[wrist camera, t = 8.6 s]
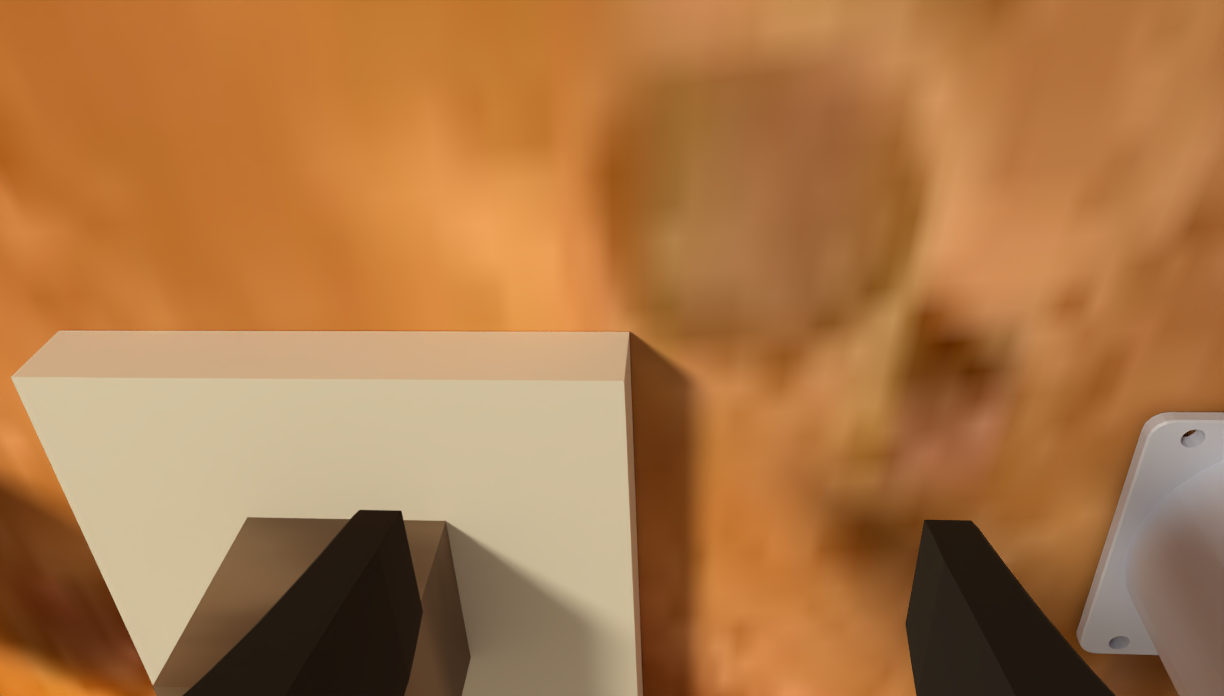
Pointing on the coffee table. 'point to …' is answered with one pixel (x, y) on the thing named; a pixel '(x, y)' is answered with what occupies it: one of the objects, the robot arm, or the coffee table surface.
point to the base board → (363, 474)
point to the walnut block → (272, 565)
